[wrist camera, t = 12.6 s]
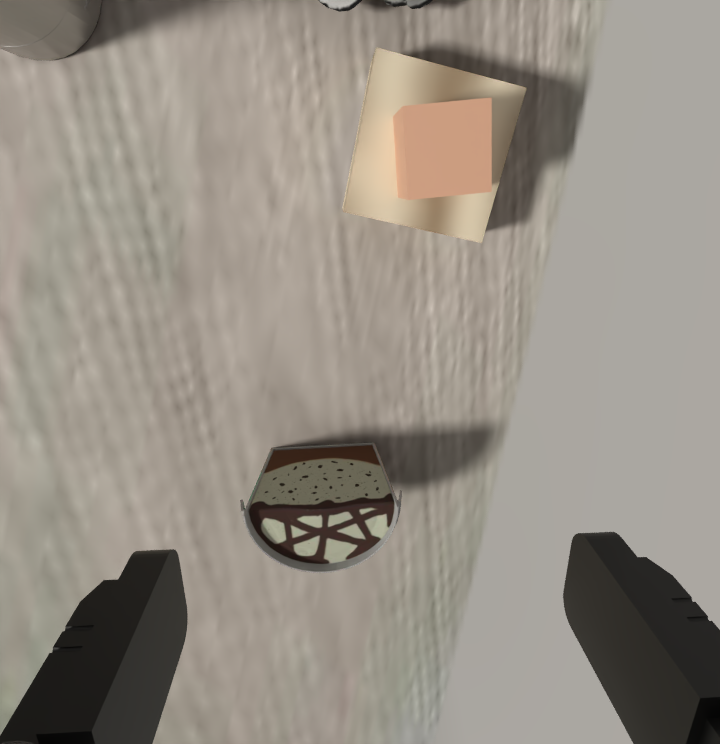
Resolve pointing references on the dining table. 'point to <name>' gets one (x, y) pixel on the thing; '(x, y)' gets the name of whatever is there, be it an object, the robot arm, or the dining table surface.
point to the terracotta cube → (443, 148)
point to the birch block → (377, 148)
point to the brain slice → (349, 0)
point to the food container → (322, 506)
